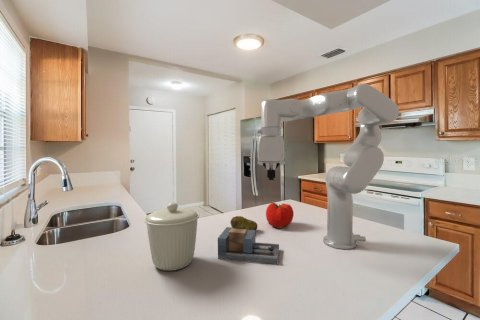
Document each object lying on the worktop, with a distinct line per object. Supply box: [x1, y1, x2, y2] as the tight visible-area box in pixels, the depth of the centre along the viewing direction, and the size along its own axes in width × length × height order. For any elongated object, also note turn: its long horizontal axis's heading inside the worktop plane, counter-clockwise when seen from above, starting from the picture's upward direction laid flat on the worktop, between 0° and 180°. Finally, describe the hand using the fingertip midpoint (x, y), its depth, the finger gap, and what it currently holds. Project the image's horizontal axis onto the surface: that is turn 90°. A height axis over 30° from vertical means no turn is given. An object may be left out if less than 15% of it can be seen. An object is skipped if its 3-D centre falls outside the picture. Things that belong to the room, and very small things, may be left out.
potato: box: [230, 215, 258, 232], centre depth 108 cm, size 8×13×8 cm, turn 93°
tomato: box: [265, 202, 295, 229], centre depth 117 cm, size 13×14×12 cm
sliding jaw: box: [243, 230, 274, 254], centre depth 85 cm, size 10×9×6 cm
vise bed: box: [217, 226, 280, 265], centre depth 86 cm, size 21×12×8 cm, turn 78°
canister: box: [143, 202, 200, 272], centre depth 79 cm, size 18×18×21 cm
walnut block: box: [229, 228, 247, 252], centre depth 87 cm, size 6×4×7 cm, turn 77°
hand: (271, 179), depth 90 cm, fingers closed
